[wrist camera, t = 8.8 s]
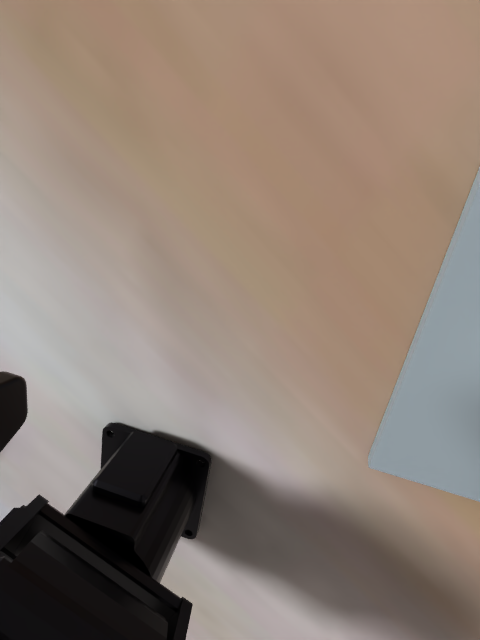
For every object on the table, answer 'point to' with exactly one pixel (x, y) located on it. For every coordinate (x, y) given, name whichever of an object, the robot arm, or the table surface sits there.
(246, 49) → the table surface
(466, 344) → the board
